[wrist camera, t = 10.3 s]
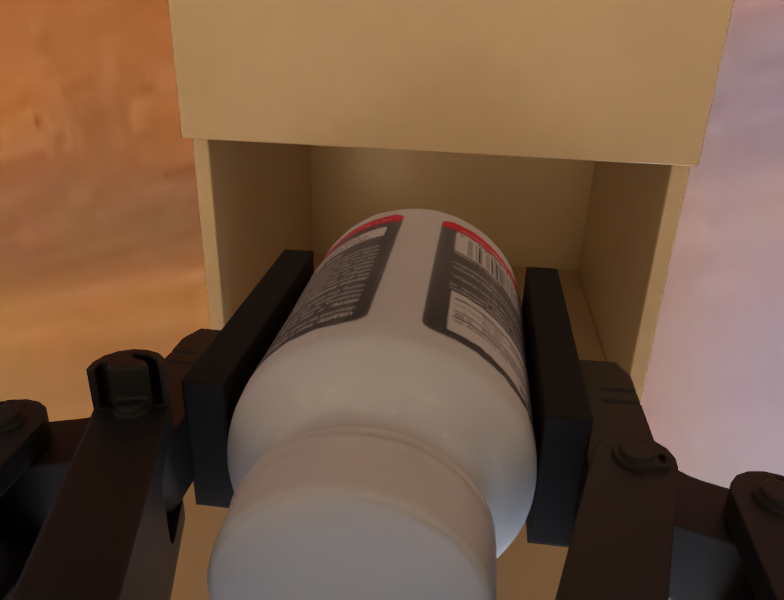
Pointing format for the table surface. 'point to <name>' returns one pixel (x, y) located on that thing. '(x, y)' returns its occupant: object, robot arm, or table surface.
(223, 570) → the pill bottle
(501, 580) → the flap
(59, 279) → the table surface
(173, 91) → the table surface
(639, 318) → the carton
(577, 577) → the robot arm
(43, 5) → the table surface
